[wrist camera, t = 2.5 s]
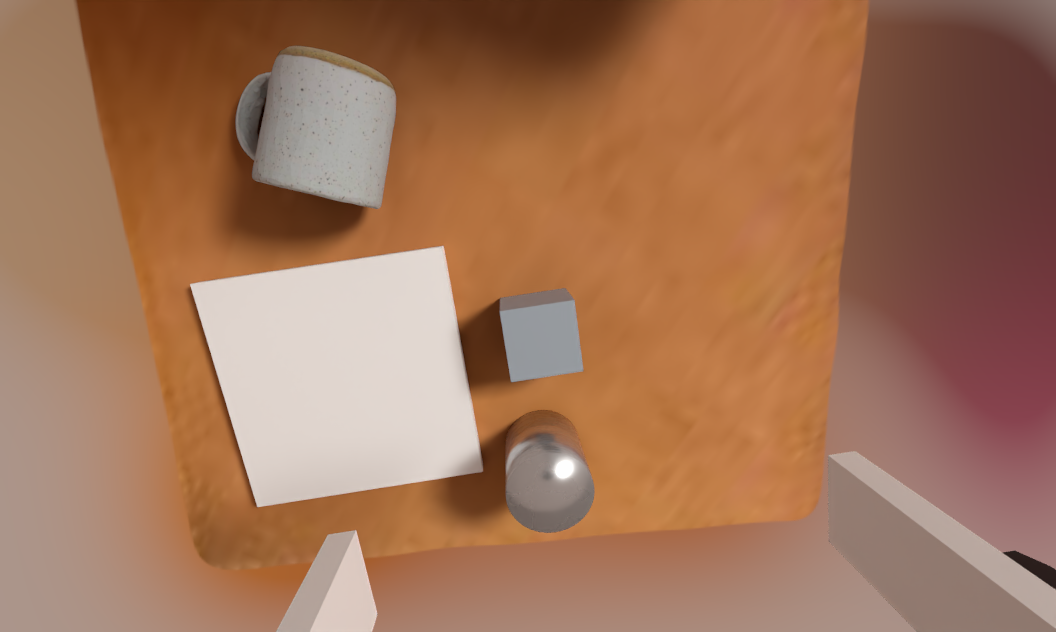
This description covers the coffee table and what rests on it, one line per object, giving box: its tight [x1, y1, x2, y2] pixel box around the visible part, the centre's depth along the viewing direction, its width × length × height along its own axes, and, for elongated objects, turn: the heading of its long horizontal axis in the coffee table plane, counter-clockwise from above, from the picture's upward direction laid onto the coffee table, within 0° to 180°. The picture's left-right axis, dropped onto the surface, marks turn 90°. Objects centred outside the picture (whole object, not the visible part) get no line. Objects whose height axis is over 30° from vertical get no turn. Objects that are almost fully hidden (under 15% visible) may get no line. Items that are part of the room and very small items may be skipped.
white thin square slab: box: [190, 246, 483, 507], centre depth 37 cm, size 18×18×1 cm
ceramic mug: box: [236, 46, 396, 209], centre depth 30 cm, size 11×8×8 cm
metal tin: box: [505, 410, 594, 533], centre depth 36 cm, size 6×6×7 cm
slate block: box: [500, 288, 583, 382], centre depth 35 cm, size 5×5×5 cm
